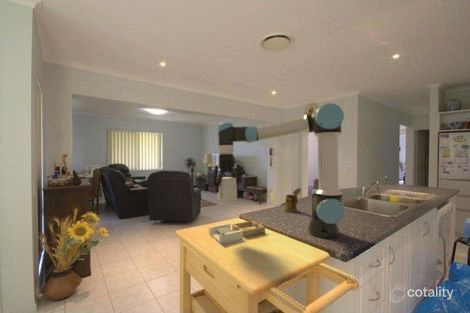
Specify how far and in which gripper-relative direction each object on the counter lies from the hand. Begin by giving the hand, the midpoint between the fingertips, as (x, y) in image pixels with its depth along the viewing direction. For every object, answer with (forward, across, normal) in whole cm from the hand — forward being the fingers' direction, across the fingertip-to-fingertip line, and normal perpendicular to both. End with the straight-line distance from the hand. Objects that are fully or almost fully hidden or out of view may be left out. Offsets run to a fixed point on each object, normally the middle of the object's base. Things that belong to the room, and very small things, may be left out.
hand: (227, 197), depth 115 cm
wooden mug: (+20, -61, -17) cm, 66 cm away
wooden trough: (+20, -12, 0) cm, 24 cm away
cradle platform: (+18, +1, 0) cm, 18 cm away
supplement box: (+3, 0, 0) cm, 3 cm away
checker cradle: (+20, +1, 0) cm, 20 cm away
